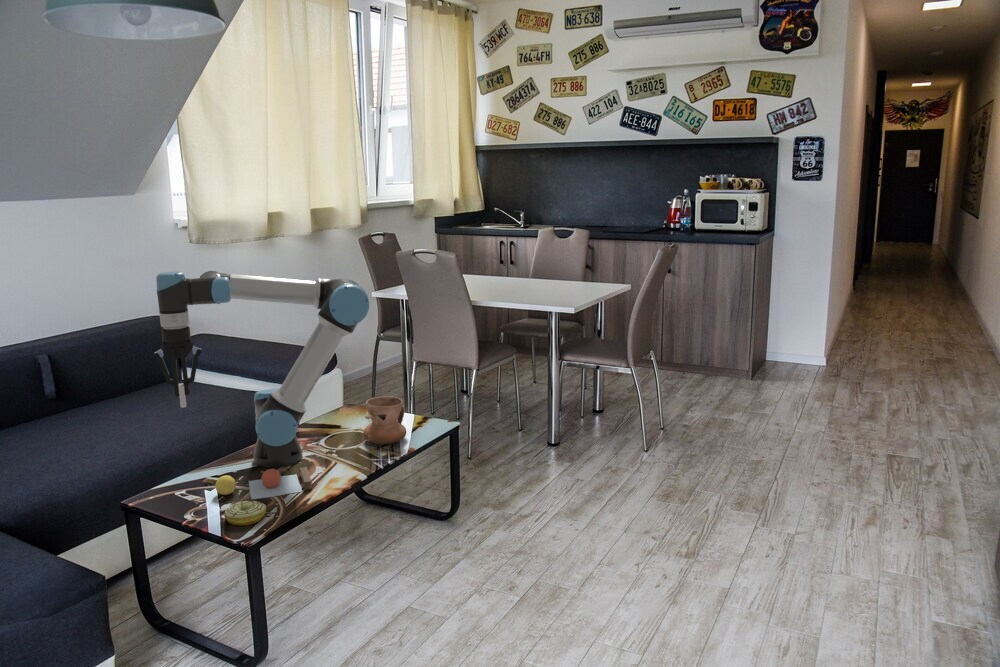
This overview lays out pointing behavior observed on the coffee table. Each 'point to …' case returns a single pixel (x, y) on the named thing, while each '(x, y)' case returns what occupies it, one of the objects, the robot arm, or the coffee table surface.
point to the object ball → (271, 478)
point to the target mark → (284, 487)
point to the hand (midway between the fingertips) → (183, 406)
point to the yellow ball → (225, 485)
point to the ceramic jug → (385, 420)
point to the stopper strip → (305, 478)
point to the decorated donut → (245, 513)
